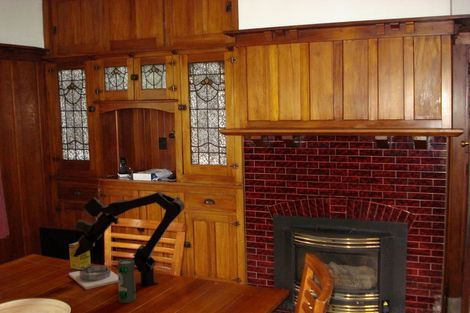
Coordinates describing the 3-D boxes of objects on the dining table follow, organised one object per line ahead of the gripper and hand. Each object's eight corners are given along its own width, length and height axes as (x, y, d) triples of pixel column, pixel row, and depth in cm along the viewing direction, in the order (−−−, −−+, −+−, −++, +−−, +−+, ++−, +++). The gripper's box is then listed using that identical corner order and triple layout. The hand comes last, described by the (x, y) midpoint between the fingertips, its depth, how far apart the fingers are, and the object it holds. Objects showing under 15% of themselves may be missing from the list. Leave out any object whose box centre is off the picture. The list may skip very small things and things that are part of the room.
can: (118, 298, 201) (116, 260, 200) (134, 296, 204) (132, 258, 202) (120, 303, 196) (119, 265, 194) (136, 301, 198) (135, 263, 196)
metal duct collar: (114, 276, 224) (114, 271, 223) (86, 283, 217) (85, 277, 216) (104, 269, 234) (103, 264, 234) (76, 275, 227) (76, 269, 226)
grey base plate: (123, 281, 221) (123, 278, 221) (85, 289, 212) (85, 287, 212) (104, 268, 239) (103, 266, 239) (69, 275, 230) (68, 273, 230)
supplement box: (80, 271, 214) (78, 245, 212) (70, 270, 216) (68, 244, 215) (91, 267, 219) (89, 241, 217) (81, 265, 222) (79, 240, 220)
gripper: (90, 208, 225) (65, 235, 225) (82, 217, 206) (55, 247, 206) (110, 224, 226) (86, 251, 226) (103, 235, 208) (77, 264, 208)
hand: (76, 253), depth 217 cm, fingers closed on supplement box, 8 cm apart
